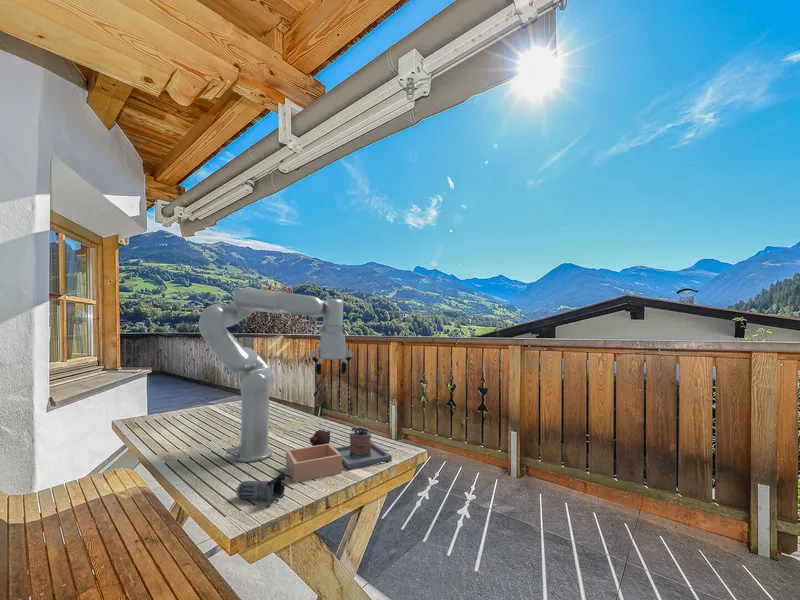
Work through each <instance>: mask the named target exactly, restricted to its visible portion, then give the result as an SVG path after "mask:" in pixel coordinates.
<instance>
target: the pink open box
mask: <svg viewBox="0 0 800 600" xmlns="http://www.w3.org/2000/svg"><path fill="white" fill-rule="evenodd" d="M335 448H336V447H334V446H333V445H332V444H331V443H330V442H329V444H323V445H317V446H314V445H312V446H305V447H300V448H298V447H297V448H293V449H288V450H286V452H285V459H286V460H285V468H286V470H287V473H288V474H289V476H290V477H291V479H292V482H293V483H294V484H296V483H300V482H307V481H311V480H315V479H319V478H325V477H329V476H334V474H335V475H339V474H342V473H343V465H342V455H341V454H340V453H339V452H338V451H337V450H336V449H335Z"/></svg>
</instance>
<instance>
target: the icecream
mask: <svg viewBox="0 0 800 600" xmlns="http://www.w3.org/2000/svg"><path fill="white" fill-rule="evenodd" d="M330 436H331V431H330V430H329V431H326V430H325V429H324V430H322V429H318V430H317V431H315V433H314V434H313V435H312V436H311V437H310V438H309V443H310V444H311V445H312V446H317V445H323V444H329V443H330V440H331V437H330Z"/></svg>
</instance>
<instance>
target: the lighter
mask: <svg viewBox="0 0 800 600" xmlns="http://www.w3.org/2000/svg"><path fill="white" fill-rule="evenodd" d="M351 431H352V432H350V433H349V442H350V443H349V445H350V456H355V457H370V456H371V442H372V433H369V432H368V431H369V427H364V426H362V425H361V426H360V427H359V426H351Z"/></svg>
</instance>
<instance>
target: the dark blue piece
mask: <svg viewBox="0 0 800 600" xmlns="http://www.w3.org/2000/svg"><path fill="white" fill-rule="evenodd" d="M286 477H287V474H286V472H284V471H282V472H281V473H279V474H278V475H277V476H275V477H274V478H273V479H272V480H244V481H242V482H241V483H239V484H238V486H237V487H236V491H235V494H236V497H237V498H238V499H239V500H249V501H250V500H256V501H257V500H260V501H261V500H262V501H264V500H266V503H267V504H266V505H267V506H266V507H267V508H269V507H270V506H271V505H273V504H274V503H278V502H279V498H280V499H282V498H283V496H284V497H285V494H284V493H285V489H286V488H285V487H286V486H285V484H284V483H283V481H285V480H286ZM280 496H281V497H280ZM277 498H278V499H277ZM274 501H275V502H274ZM277 501H278V502H277ZM272 503H273V504H272Z"/></svg>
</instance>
